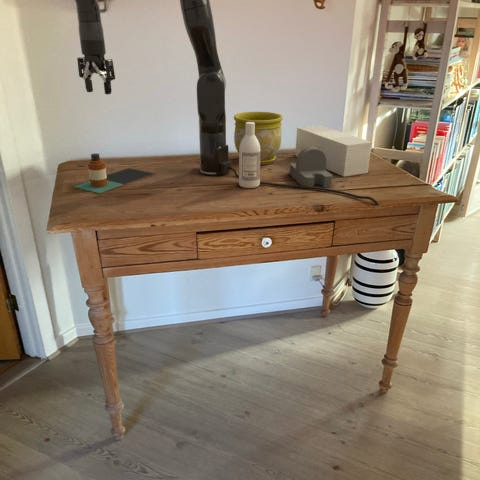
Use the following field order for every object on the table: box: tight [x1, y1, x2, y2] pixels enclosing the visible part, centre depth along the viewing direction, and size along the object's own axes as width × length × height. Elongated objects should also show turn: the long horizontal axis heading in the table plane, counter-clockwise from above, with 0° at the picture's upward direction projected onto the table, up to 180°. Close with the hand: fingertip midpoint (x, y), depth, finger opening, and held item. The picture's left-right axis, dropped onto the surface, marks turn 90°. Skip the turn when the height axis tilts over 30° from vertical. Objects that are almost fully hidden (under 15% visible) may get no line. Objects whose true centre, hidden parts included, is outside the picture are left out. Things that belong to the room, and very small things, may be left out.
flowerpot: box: [233, 111, 284, 166], centre depth 197 cm, size 18×18×16 cm
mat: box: [73, 168, 154, 195], centre depth 178 cm, size 12×26×1 cm, turn 147°
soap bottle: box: [87, 152, 108, 188], centre depth 170 cm, size 6×6×10 cm
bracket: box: [289, 147, 334, 188], centre depth 177 cm, size 10×18×11 cm, turn 13°
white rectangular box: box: [294, 124, 373, 177], centre depth 195 cm, size 32×11×11 cm, turn 27°
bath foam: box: [238, 122, 261, 189], centre depth 169 cm, size 7×7×20 cm
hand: (98, 93), depth 174 cm, fingers open, 8 cm apart
